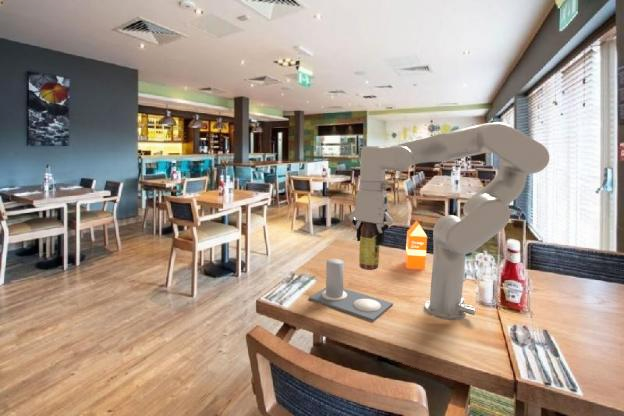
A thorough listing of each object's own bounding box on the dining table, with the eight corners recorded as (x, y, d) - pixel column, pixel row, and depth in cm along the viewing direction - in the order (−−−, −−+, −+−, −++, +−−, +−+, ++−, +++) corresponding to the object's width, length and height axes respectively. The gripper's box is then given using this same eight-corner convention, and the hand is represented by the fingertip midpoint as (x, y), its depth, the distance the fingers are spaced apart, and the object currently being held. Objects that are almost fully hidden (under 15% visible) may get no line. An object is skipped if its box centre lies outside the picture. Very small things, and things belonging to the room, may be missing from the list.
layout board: (392, 305, 119) (394, 268, 116) (373, 321, 108) (375, 281, 105) (331, 286, 133) (332, 253, 131) (308, 299, 122) (309, 263, 120)
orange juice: (406, 268, 154) (409, 223, 150) (404, 261, 163) (407, 219, 159) (425, 269, 153) (428, 224, 149) (422, 262, 161) (425, 220, 158)
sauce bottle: (378, 271, 110) (381, 209, 107) (358, 270, 111) (360, 208, 108) (378, 264, 117) (381, 205, 113) (359, 263, 118) (361, 205, 114)
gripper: (403, 187, 107) (400, 244, 110) (354, 183, 117) (352, 235, 121) (392, 190, 101) (389, 250, 104) (341, 185, 111) (340, 240, 115)
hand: (369, 241), depth 112 cm, fingers closed on sauce bottle, 6 cm apart
